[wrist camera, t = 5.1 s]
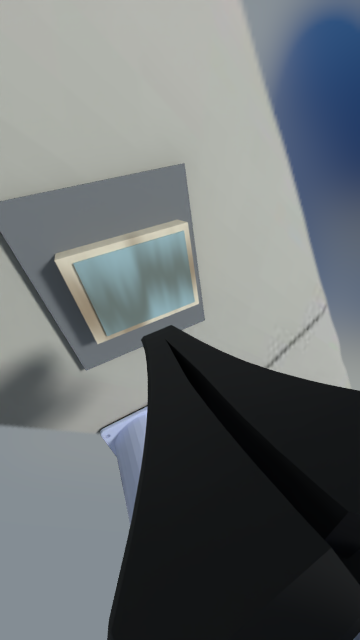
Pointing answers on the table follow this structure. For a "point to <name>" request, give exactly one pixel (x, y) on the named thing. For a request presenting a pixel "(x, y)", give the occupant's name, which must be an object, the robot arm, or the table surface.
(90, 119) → the table surface
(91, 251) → the birch framed mirror
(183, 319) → the rubber mat
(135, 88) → the table surface
